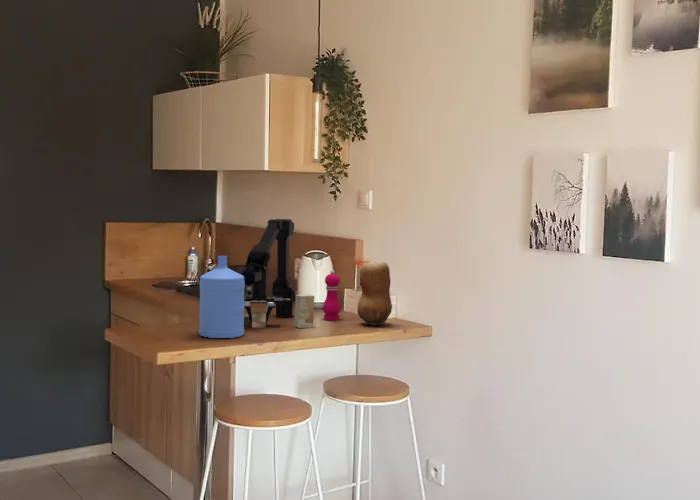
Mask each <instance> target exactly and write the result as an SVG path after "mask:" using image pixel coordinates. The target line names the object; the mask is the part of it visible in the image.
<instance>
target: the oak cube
mask: <svg viewBox="0 0 700 500" xmlns="http://www.w3.org/2000/svg"><path fill="white" fill-rule="evenodd" d="M251 314H252V324H250V325H251V328H257V329H258V328H266V327H267V323H266V311H256V312H255V311H251Z"/></svg>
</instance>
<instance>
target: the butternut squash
mask: <svg viewBox="0 0 700 500" xmlns="http://www.w3.org/2000/svg"><path fill="white" fill-rule="evenodd" d="M390 270H391V269H390V266H389V264H388V263H387V262H385V261H383V260H377V261H371V262H370V261H369V262H365V263H363V265H362V266H361V267H360V273H359V283H360V289H361V295H360V298H359V300H358V303H357V311H356V312H357V315H358V316H359V318H360V319H361V320H362V321H363V322H365V323H366V324H368V325H370V326H380V324H381V325H382V324H385V323H386V321H387V320H388V318H389V317H390V315H391V313H392V311H393V304H392V299H391V295H390V293H391V292H390V289H391V275H390V274H391V273H390Z"/></svg>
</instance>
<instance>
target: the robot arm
mask: <svg viewBox="0 0 700 500" xmlns="http://www.w3.org/2000/svg"><path fill="white" fill-rule="evenodd" d="M294 230H295V223H294V221H293V220H292V219H289V218H276V219H275V218H274V219H273V218H271V219H268V221H267V225H266V228H265V230H264V232H263V234H262V236H261V238H260V239H259V242H258V243H257V244H255V245H253V247H252V248H251V249H250V251H249V253H248V255H247V259H246V262H245V264H244V268H245V270H243V271H242V272H241V273H240V275H242V276H244V281H245V286H247V287H246V296H247V297H248V298H246V297H244V309H245V310H246V312H247V313H246V314H248V315H249V319H250V322H251V324H252V315H251V314H252V308H251V307H252V306H251V304H266V310H265V314H266V324H267V323H268V320H269V317H270V315H271V312H272V311H273V309H275V310H274V313H275V316H276V317H277V318H293V317H294V314H293V306H294V303H295V298H296V295H297V293H296V290H295V288H294V283H293V281H292V278H291V276H290V240H291V239H292V237H293V236H294ZM275 241H276V245H277V246H276V248H277V249H276V250H277V251H276V252H277V253H276V255H277V256H276V257H277V258H276V275H277V276H276V278H275V279H274V281H273V282H272V289H271V295H272V297H270V298H269V297H267V296H268V295H267V293H268V292H267V291H268V290H267V289H268V288H267V286H268V285H267V284H268V270H269V264H270V262H271V259H272V253H271V249H272V247H273V245H274V243H275ZM249 297H250V298H249ZM251 324H250V325H251Z"/></svg>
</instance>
